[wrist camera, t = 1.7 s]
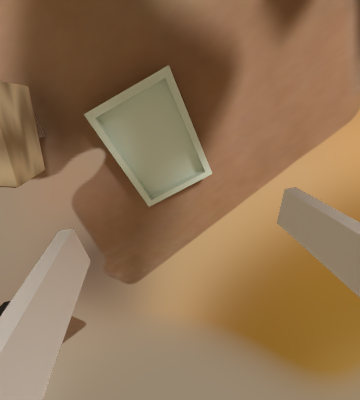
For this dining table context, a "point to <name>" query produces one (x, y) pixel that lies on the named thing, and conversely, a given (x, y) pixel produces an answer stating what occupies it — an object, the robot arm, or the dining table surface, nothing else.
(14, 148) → the slotted wooden block
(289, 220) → the robot arm
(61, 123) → the dining table surface
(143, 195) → the tray
